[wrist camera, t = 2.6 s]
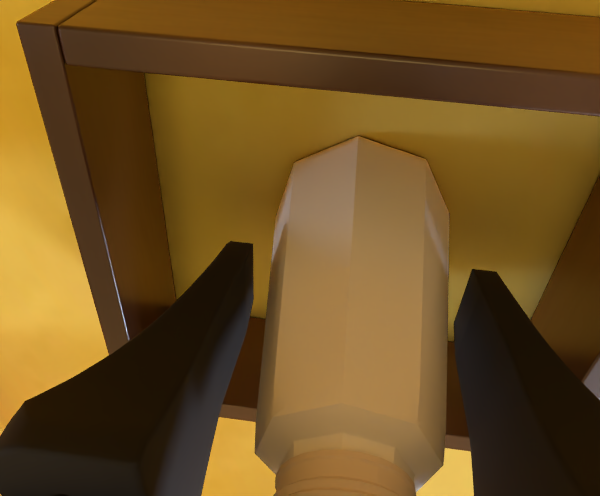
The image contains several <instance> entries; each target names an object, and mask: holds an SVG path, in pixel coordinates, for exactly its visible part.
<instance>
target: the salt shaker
mask: <svg viewBox="0 0 600 496" xmlns="http://www.w3.org/2000/svg"><path fill="white" fill-rule="evenodd" d="M449 218H450V214H449V211H448V209H447V207H446V204H445V202H444V200H443V197H442V195H441V193H440V190H439V188H438V186H437V183H436V181H435V179H434V176H433V174H432V172H431V169H430V167H429V164H428V162H427V160H426V159H424V158H421V157H418V156H415V155H412V154H409V153H406V152H404V151H401V150H398V149H395V148H392V147H389V146H386V145H383V144H380V143H377V142H374V141H371V140H368V139H365V138H362V137H359V136H357V137H355V138H352V139H350V140H347V141H345V142H343V143H340V144H338V145H335V146H333V147H330V148H328V149H325V150H323V151H321V152H318V153H316V154H313V155H311V156H308V157H306V158H304V159H301V160H299V161H296V162H294V164H293V167H292V170H291V173H290V176H289V179H288V182H287V185H286V188H285V190H284V193H283V196H282V199H281V202H280V205H279V208H278V211H277V214H276V220H275V230H274V240H273V251H272V261H271V271H270V281H269V292H268V302H267V312H266V322H265V333H264V343H263V353H262V364H261V374H260V384H259V394H258V405H257V415H256V433H255V454H256V455H257V456H258V457H259V458H260V459H261V460H262V461H263V462H264V463H265V464H266V465H267V466H268V467H269V468H270V469H271V470H272V471H273V472H274V473H275V474H276V480H275V488H276V490H277V491H276V493H275V494H274V496H416V492H417V491H418V490H419V489H420V488H421V487H422V486H423V485H424V484H425V483H426V482H427V481H428V480H429V479H430V478H431V477H432V476H433V475H434V474H435V473H436V472H437V471H438V470H439V469H440V468H441V467H442V466H443V462H444V449H445V436H446V399H447V338H448V278H449Z"/></svg>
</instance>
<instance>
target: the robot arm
mask: <svg viewBox="0 0 600 496" xmlns="http://www.w3.org/2000/svg"><path fill="white" fill-rule="evenodd" d="M252 303H253V244H250V243H242V242H233V241H230V242H229V243H227V244H226V245H225V247H224V248H223V249H222V251H221V252H220V253H219V254H218V256H217V257H216V258H215V259H214V261H213V262H212V263H211V264H210V265H209V267H208V268H207V269H206V270H205V271H204V272H203V274H202V275H201V276H200V277H199V278H198V279H197V280H196V281H195V282H194V283H193V284H192V286H191V287H190V288H189V289H188V290H187V291H186V292H185V293H184V294H183V295H182V296H181V297H180V298H179V299H178V300H177V301H176V302H175V303H174V304H173V305H172V306H171V307H169V308H168V309H167V310H166V311H165V312H164V313H163V314H162V315H161V316H160V317H159V318H157V319H156V320H155V321H154V322H153V323H152V324H150V325H149V326H148V327H147V328H146V329H144V330H143V331H142V332H141V333H139V334H138V335H137V336H135V337H134V338H133V339H131V340H130V341H129V342H127V343H126V344H124V345H123V346H122V347H120V348H119V349H118V350H116V351H115V352H113V353H112V354H110V355H109V356H107V357H106V358H104V359H103V360H101V361H99V362H98V363H96V364H94V365H93V366H91V367H89V368H88V369H86V370H85V371H83V372H81V373H80V374H78V375H76V376H74V377H73V378H71V379H69V380H67V381H65V382H63V383H61V384H59V385H57V386H55V387H53V388H51V389H49V390H47V391H45V392H43V393H41V394H39V395H37V396H35V397H33V398H31V399H29V400H27V401H25V402H24V403H23V405H22V406H21V407H20V409H19V410H18V411H17V412H16V414H15V415H14V416H13V417H12V419H11V420H10V422H9V423H8V425H7V426H6V428H5V429H4V431H3V433H2V434H1V436H0V494H1V496H201V494H202V489H203V484H204V479H205V475H206V470H207V466H208V461H209V457H210V452H211V447H212V443H213V439H214V434H215V430H216V426H217V421H218V417H219V414H220V410H221V407H222V403H223V400H224V397H225V394H226V391H227V388H228V385H229V382H230V379H231V377H232V374H233V371H234V368H235V365H236V362H237V359H238V356H239V353H240V350H241V347H242V344H243V341H244V338H245V335H246V332H247V327H248V323H249V318H250V313H251V308H252ZM454 343H455V359H456V365H457V371H458V377H459V383H460V388H461V394H462V399H463V405H464V410H465V416H466V421H467V427H468V433H469V439H470V447H471V457H472V471H473V485H474V496H600V400H599V399H598V398H597V397H596V396H595V395H594V394H593V393H592V392H591V391H590V390H589V389H588V388H587V387H586V386H585V385H584V384H583V383H582V382H581V381H580V380H579V379H578V378H577V377H576V376H575V374H574V373H573V372H572V371H571V370H570V369H569V368H568V367H567V366H566V365H565V363H564V362H563V361H562V360H561V359H560V358H559V356H558V355H557V354H556V353H555V352H554V350H553V349H552V348H551V347H550V346H549V344H548V343H547V342H546V341H545V339H544V338H543V337H542V335H541V334H540V333H539V331H538V330H537V329H536V327H535V326H534V325H533V323H532V322H531V321H530V319H529V318H528V317H527V315H526V314H525V312H524V311H523V310H522V308H521V307H520V305H519V304H518V302H517V301H516V300H515V298H514V297H513V295H512V294H511V292H510V291H509V289H508V288H507V286H506V285H505V284H504V282H503V281H502V279H501V278H500V276H499V275H498V274H497V272H493V271H484V270H476V269H472V272H471V274H470V277H469V280H468V283H467V286H466V289H465V292H464V295H463V298H462V301H461V304H460V307H459V309H458V312H457V315H456V318H455V321H454Z"/></svg>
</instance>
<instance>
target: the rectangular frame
mask: <svg viewBox="0 0 600 496" xmlns="http://www.w3.org/2000/svg"><path fill="white" fill-rule="evenodd" d="M16 25H17V29H18V32H19V36H20V39H21V43H22V47H23V50H24V54H25V57H26V61H27V64H28V68H29V71H30V75H31V79H32V82H33V86H34V89H35V93H36V96H37V100H38V104H39V107H40V111H41V114H42V118H43V121H44V125H45V128H46V132H47V136H48V139H49V143H50V146H51V150H52V153H53V157H54V161H55V164H56V168H57V171H58V175H59V178H60V182H61V185H62V189H63V193H64V196H65V200H66V203H67V207H68V210H69V214H70V218H71V221H72V225H73V228H74V232H75V235H76V239H77V242H78V246H79V250H80V253H81V257H82V260H83V264H84V267H85V271H86V274H87V278H88V282H89V285H90V289H91V292H92V296H93V299H94V303H95V307H96V310H97V314H98V317H99V321H100V324H101V328H102V331H103V335H104V339H105V342H106V346H107V349H108V353H109V355H110V354H112V353H113V352H115V351H116V350H118V349H119V348H120V347H122V346H123V345H124V344H126V343H127V342H129V341H130V340H131V339H133V338H134V337H135V336H137V335H138V334H139V333H141V332H142V331H143V330H144V329H146V328H147V327H148V326H149V325H150V324H152V323H153V322H154V321H155V320H156V319H157V318H159V317H160V316H161V315H162V314H163V313H164V312H165V311H166V310H167V309H168V308H169V307H171V306H172V305H173V304H174V303H175V302H176V298H175V291H174V284H173V277H172V269H171V262H170V255H169V248H168V241H167V234H166V227H165V220H164V213H163V206H162V199H161V192H160V185H159V178H158V171H157V163H156V156H155V149H154V142H153V135H152V128H151V121H150V114H149V107H148V100H147V93H146V86H145V79H144V73H155V74H165V75H175V76H186V77H196V78H206V79H217V80H227V81H238V82H248V83H258V84H269V85H279V86H290V87H300V88H310V89H321V90H331V91H341V92H352V93H362V94H373V95H383V96H393V97H404V98H414V99H425V100H435V101H445V102H456V103H466V104H477V105H487V106H497V107H508V108H518V109H528V110H539V111H549V112H560V113H570V114H580V115H591V116H600V17H589V16H577V15H565V14H553V13H542V12H530V11H518V10H506V9H495V8H483V7H471V6H459V5H447V4H436V3H424V2H412V1H400V0H55V1H53V2H51V3H49V4H48V5H46V6H44V7H42V8H41V9H39V10H37V11H35V12H33V13H32V14H30V15H28V16H26V17H24V18H23V19H21V20H19V21H17V23H16ZM265 322H266V319H260V318H252V317H250V318H249V323H248V327H247V332H246V335H245V338H244V341H243V344H242V347H241V350H240V353H239V356H238V359H237V362H236V365H235V368H234V371H233V374H232V377H231V379H230V382H229V385H228V388H227V391H226V394H225V397H224V400H223V403H222V407H221V410H220V414H219V417H224V418H231V419H238V420H245V421H253V422H256V415H257V405H258V394H259V384H260V374H261V364H262V353H263V343H264V333H265ZM531 322H532V323H533V325H534V326H535V327H536V329H537V330H538V331H539V333H540V334H541V335H542V337H543V338H544V339H545V341H546V342H547V343H548V344H549V346H550V347H551V348H552V349H553V350H554V352H555V353H556V354H557V355H558V356H559V358H560V359H561V360H562V361H563V362H564V363H565V365H566V366H567V367H568V368H569V369H570V370H571V371H572V372H573V373H574V374H575V376H576V377H577V378H578V379H579V380H580V381H581V382H582V383H583V384H584V385H585V386H586V387H587V388H588V389H589V390H590V391H591V392H592V393H593V394H594V395H595V396H596V397H597V398H598V399H599V400H600V176H599V178H598V180H597V182H596V184H595V186H594V189H593V191H592V193H591V195H590V197H589V199H588V201H587V203H586V205H585V207H584V210H583V212H582V214H581V216H580V218H579V220H578V222H577V224H576V226H575V228H574V231H573V233H572V235H571V237H570V239H569V241H568V243H567V245H566V247H565V249H564V251H563V254H562V256H561V258H560V260H559V262H558V264H557V266H556V268H555V270H554V272H553V275H552V277H551V279H550V281H549V283H548V285H547V287H546V289H545V291H544V293H543V296H542V298H541V300H540V302H539V304H538V306H537V308H536V310H535V312H534V314H533V317H532V319H531ZM445 448H450V449H458V450H465V451H471V447H470V439H469V433H468V427H467V421H466V416H465V410H464V405H463V399H462V394H461V388H460V383H459V377H458V371H457V365H456V359H455V343H453V342H447V399H446V436H445Z"/></svg>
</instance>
